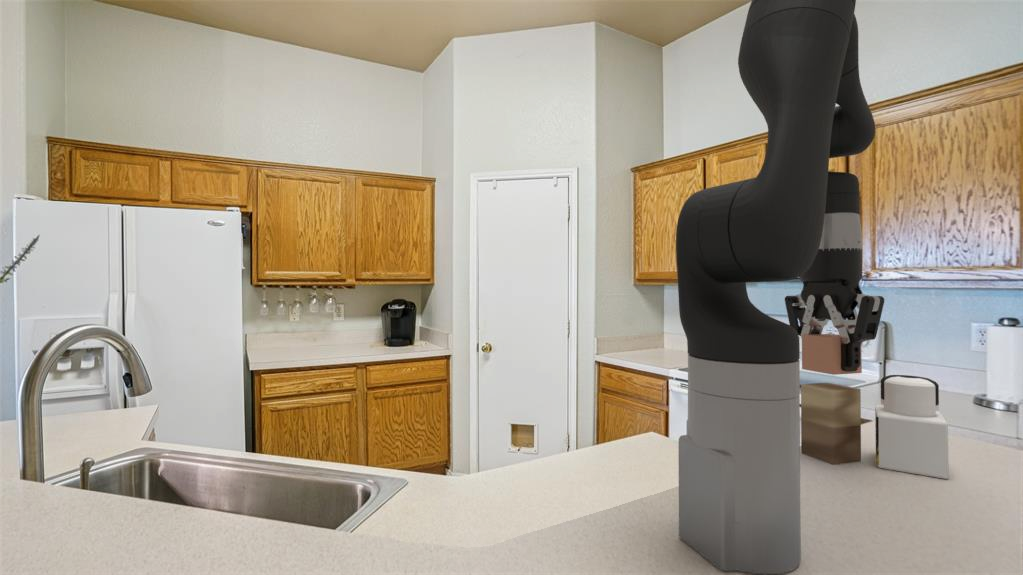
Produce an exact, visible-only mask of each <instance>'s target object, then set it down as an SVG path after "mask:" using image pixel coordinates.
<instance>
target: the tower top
mask: <svg viewBox="0 0 1023 575" xmlns="http://www.w3.org/2000/svg"><path fill="white" fill-rule="evenodd" d="M861 393H862V392H861V388H858V387H853V386H847V385H843V384H842V385H841V384H837V383H832V382H817V383H815V382H814V383H803V384H800V420H801V419H804V420H807V421H811V422H814V423H818V424H821V425H824V426H828V427H831V428H837V427H847V426H858V425H861V426H862V420H861V419H862V418H861V417H862V416H861V415H862V414H861V413H862V411H861V410H862V409H861V408H862V407H861V401H862V400H861V399H862V398H861V397H862V396H861Z"/></svg>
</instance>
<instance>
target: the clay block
mask: <svg viewBox="0 0 1023 575" xmlns="http://www.w3.org/2000/svg"><path fill="white" fill-rule="evenodd" d="M841 344H844V343H843V342H842V341H841V338H840V335H839V334H832V333H821V334H810V335H802V338H801V369H802V370H805V371H810V372H816V373H822V374H827V375H828V374H829V375H832V376H833V375H834V376H837V375H851V374H854V375H855V374H862V373H863V371H862V364H863V363H862V362H863V361H862V344H861V345H860V361H861V364H860V366H859V367H858V369H857V371H851V372H847V371H842V369H841Z"/></svg>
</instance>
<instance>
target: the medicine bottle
mask: <svg viewBox="0 0 1023 575" xmlns="http://www.w3.org/2000/svg"><path fill="white" fill-rule="evenodd" d="M939 387H940V386H939V384H938V382H936V381H935V380H933V379H930V378H928V377H924V376H919V375H917V376H916V375H906V374H890V375H886V376H884V377H882V378H881V379H880V404H877V405H876V406H875V408H874V410H875V416H874V417H875V419H874V420H875V456H876V457H875V459H876V467H878V468H879V469H885V470H890V471H897V472H901V473H908V474H914V475H920V476H925V477H931V478H938V479H944V480H947V479H949V474H950V473H949V471H950V470H949V468H950V467H949V466H950V465H949V464H950V463H949V424H948V422H947V421H946V419H945V417H944V416H943V415H942V413H941V412H940V407H939V406H940V400H939V399H940V396H939V395H940V394H939V393H940V392H939V391H940V389H939Z"/></svg>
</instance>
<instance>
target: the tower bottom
mask: <svg viewBox="0 0 1023 575" xmlns="http://www.w3.org/2000/svg"><path fill="white" fill-rule="evenodd" d="M861 427H862V424H861V425H858V426H847V427H837V428H831V427H828V426H824V425H821V424H818V423H814V422H811V421H807V420H804V419H801V418H800V454H803V455H805V456H808V457H810V458H813V459H816V460H818V461H821V462H824V463H827V464H829V465H831V466H835V465H836V466H837V465H843V464H852V463H860V462H861V463H862V428H861Z"/></svg>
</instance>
